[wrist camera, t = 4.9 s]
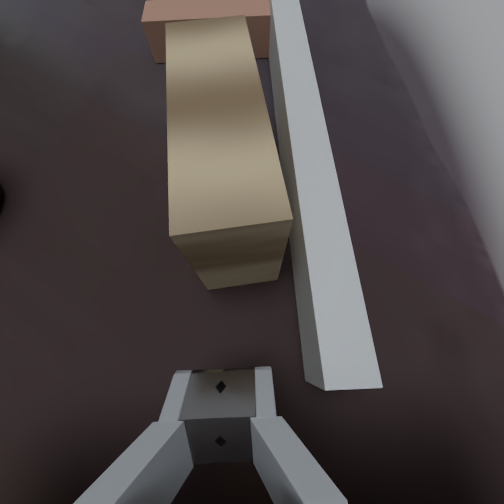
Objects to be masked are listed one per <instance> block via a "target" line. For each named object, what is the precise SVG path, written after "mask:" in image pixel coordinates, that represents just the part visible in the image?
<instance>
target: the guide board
mask: <svg viewBox="0 0 504 504" xmlns="http://www.w3.org/2000/svg"><path fill="white" fill-rule="evenodd" d="M238 15H245V19H246V23H247V27H248V31H249V35H250V40H251V44H252V48H253V52H254V56H255V58H269V64H270V73H271V82H272V91H273V100H274V109H275V117H276V126H277V135H278V144H279V153H280V162H281V170H282V174H283V178H284V182H285V187H286V191H287V195H288V199H289V203H290V208H291V212H292V216H293V222H292V226H291V230H290V234H289V242H290V250H291V259H292V268H293V277H294V286H295V295H296V304H297V313H298V321H299V330H300V339H301V348H302V357H303V366H304V375H305V381H306V382H309V383H311V384H313V385H315V386H317V387H319V388H321V389H323V390H325V391H327V390H347V389H368V388H383V386H382V381H381V377H380V372H379V367H378V363H377V358H376V354H375V349H374V344H373V340H372V335H371V331H370V326H369V321H368V317H367V312H366V307H365V303H364V298H363V294H362V289H361V284H360V280H359V275H358V271H357V266H356V261H355V257H354V252H353V248H352V243H351V238H350V234H349V229H348V224H347V220H346V215H345V211H344V206H343V201H342V197H341V192H340V188H339V183H338V178H337V174H336V169H335V165H334V160H333V155H332V151H331V146H330V141H329V137H328V132H327V128H326V123H325V118H324V114H323V109H322V105H321V100H320V95H319V91H318V86H317V82H316V77H315V72H314V68H313V63H312V58H311V54H310V49H309V45H308V40H307V35H306V31H305V26H304V22H303V17H302V12H301V8H300V3H299V0H152V1H146V2H145V6H144V11H143V16H142V20H141V23H142V25H143V28H144V31H145V34H146V37H147V40H148V43H149V46H150V49H151V52H152V54H153V57H154V60H155V63H166V30H165V23H171V22H181V21H190V20H200V19H209V18H219V17H228V16H238Z"/></svg>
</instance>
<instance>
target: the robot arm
mask: <svg viewBox="0 0 504 504" xmlns="http://www.w3.org/2000/svg"><path fill="white" fill-rule="evenodd" d="M219 462H253V463H254V465H255V467H256V469H257V471H258V473H259V475H260V477H261V479H262V481H263V483H264V485H265V487H266V489H267V491H268V493H269V495H270V497H271V499H272V501H273V503H274V504H348V501H347V499H346V498H345V497H344V496H343V494H342V493H341V492H340V490H339V489H338V488H337V487H336V485H335V484H334V483H333V481H332V480H331V479H330V478H329V476H328V475H327V474H326V472H325V471H324V470H323V469H322V467H321V466H320V465H319V463H318V462H317V461H316V460H315V458H314V457H313V456H312V455H311V453H310V452H309V451H308V449H307V448H306V447H305V446H304V444H303V443H302V442H301V440H300V439H299V438H298V437H297V435H296V434H295V433H294V431H293V430H292V429H291V428H290V426H289V425H288V424H287V422H286V421H285V420H284V419H283V417H282V416H276V407H275V397H274V388H273V379H272V369H271V367H270V366H266V367H255V368H254V367H247V368H229V369H209V370H177V371H176V372H175V374H174V376H173V379H172V381H171V384H170V387H169V390H168V393H167V396H166V399H165V402H164V405H163V408H162V411H161V414H160V417H159V420H158V422H152V423H151V424H150V425H149V426H148V428H147V429H146V430H145V431H144V432H143V433H142V434H141V435H140V436H139V437H138V438H137V439H136V440H135V441H134V442H133V443H132V444H131V445H130V446H129V447H128V448H127V449H126V450H125V451H124V452H123V453H122V454H121V455H120V456H119V457H118V458H117V459H116V460H115V461H114V462H113V463H112V464H111V465H110V466H109V467H108V468H107V469H106V470H105V471H104V473H103V474H102V475H101V476H100V477H99V478H98V479H97V480H96V481H95V482H94V483H93V484H92V485H91V486H90V487H89V488H88V489H87V490H86V491H85V492H84V493H83V494H82V495H81V496H80V497H79V498H78V499H77V500H76V501H75V502H74V503H73V504H171V503H172V501H173V499H174V498H175V496H176V495H177V493H178V491H179V490H180V488H181V486H182V485H183V483H184V482H185V480H186V478H187V477H188V475H189V474H190V472H191V470H192V469H193V467H194V466H193V464H206V463H219Z"/></svg>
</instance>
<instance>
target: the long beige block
mask: <svg viewBox="0 0 504 504" xmlns="http://www.w3.org/2000/svg"><path fill="white" fill-rule="evenodd" d="M165 30H166V85H167V140H168V195H169V236H170V238H171V239H172V240H173V242H174V243H175V245H176V246H177V247H178V249H179V250H180V252H181V253H182V254H183V256H184V257H185V259H186V260H187V261H188V263H189V264H190V265H191V267H192V268H193V270H194V271H195V272H196V274H197V275H198V277H199V278H200V279H201V281H202V282H203V283H204V285H205V286H206V288H207V289H208V290H211V289H218V288H225V287H232V286H239V285H246V284H253V283H260V282H266V281H273V280H278V276H279V272H280V268H281V265H282V261H283V257H284V253H285V249H286V245H287V241H288V237H289V234H290V230H291V226H292V222H293V216H292V212H291V208H290V203H289V199H288V195H287V191H286V187H285V182H284V178H283V174H282V170H281V166H280V161H279V157H278V153H277V149H276V145H275V140H274V136H273V132H272V128H271V124H270V119H269V115H268V111H267V107H266V103H265V98H264V94H263V90H262V86H261V82H260V77H259V73H258V69H257V65H256V61H255V56H254V52H253V48H252V44H251V40H250V35H249V31H248V27H247V23H246V19H245V15H238V16H228V17H219V18H209V19H200V20H190V21H181V22H171V23H165Z"/></svg>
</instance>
